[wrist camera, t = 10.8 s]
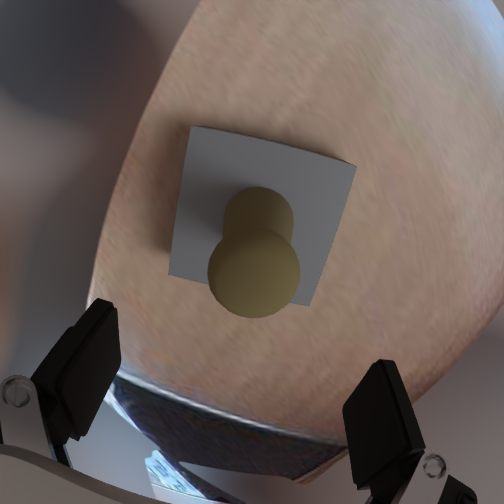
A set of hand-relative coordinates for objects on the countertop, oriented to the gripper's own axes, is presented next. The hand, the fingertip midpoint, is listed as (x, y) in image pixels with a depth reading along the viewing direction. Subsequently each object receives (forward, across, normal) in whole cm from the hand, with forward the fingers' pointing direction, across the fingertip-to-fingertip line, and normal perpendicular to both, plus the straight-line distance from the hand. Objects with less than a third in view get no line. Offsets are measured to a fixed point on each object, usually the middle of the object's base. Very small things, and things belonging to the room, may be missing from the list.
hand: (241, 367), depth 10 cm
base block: (+21, 0, +1) cm, 21 cm away
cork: (+17, 0, 0) cm, 17 cm away
